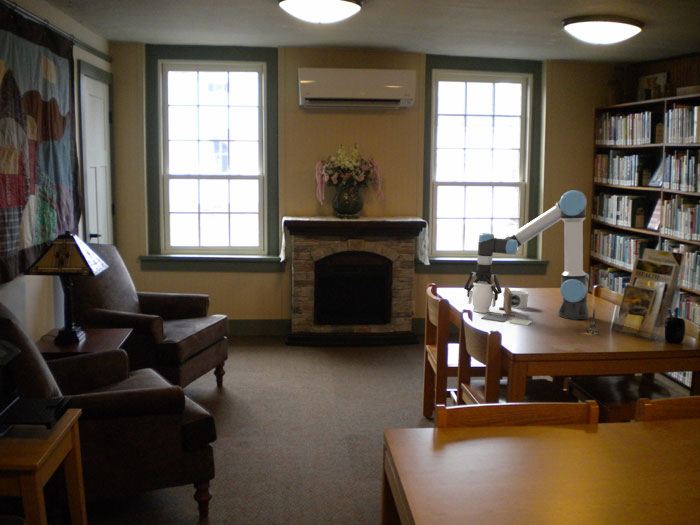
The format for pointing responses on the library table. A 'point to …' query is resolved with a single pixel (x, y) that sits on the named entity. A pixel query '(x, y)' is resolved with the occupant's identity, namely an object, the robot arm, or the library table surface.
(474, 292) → the jar
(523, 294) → the mug
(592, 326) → the eiffel tower figurine
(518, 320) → the sage mat
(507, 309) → the screen
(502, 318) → the grey mat
